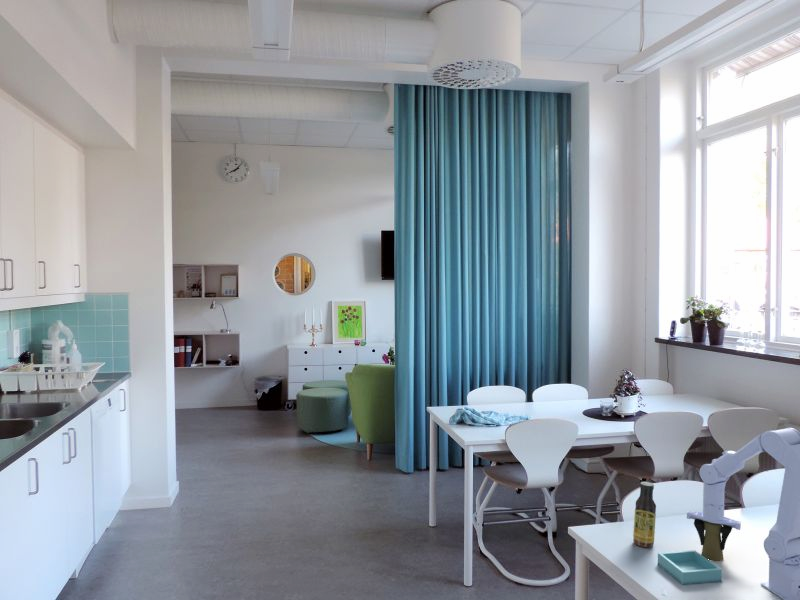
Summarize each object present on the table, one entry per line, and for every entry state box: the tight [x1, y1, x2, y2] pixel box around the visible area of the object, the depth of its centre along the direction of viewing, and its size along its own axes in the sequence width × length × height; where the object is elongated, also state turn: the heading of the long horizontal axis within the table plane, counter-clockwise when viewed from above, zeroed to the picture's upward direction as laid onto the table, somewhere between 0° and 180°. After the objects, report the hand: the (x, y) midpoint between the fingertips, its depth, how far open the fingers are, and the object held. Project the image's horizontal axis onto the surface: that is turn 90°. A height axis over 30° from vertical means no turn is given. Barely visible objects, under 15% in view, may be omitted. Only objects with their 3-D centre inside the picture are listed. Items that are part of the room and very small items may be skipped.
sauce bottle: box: [632, 481, 657, 549], centre depth 190 cm, size 7×6×20 cm
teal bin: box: [657, 549, 723, 586], centre depth 172 cm, size 12×12×4 cm
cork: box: [700, 521, 724, 563], centre depth 182 cm, size 6×6×11 cm
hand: (712, 546), depth 182 cm, fingers closed on cork, 5 cm apart
